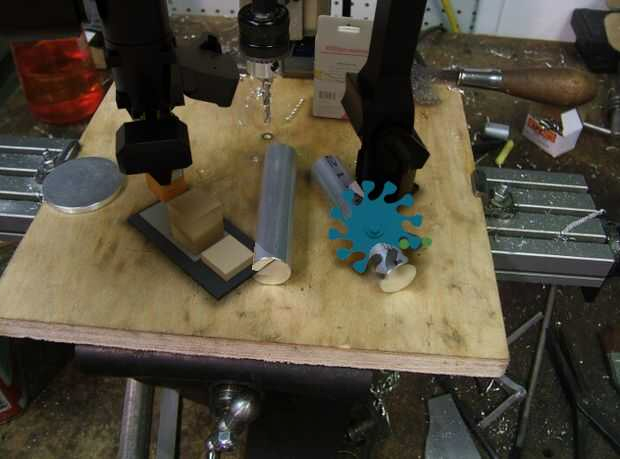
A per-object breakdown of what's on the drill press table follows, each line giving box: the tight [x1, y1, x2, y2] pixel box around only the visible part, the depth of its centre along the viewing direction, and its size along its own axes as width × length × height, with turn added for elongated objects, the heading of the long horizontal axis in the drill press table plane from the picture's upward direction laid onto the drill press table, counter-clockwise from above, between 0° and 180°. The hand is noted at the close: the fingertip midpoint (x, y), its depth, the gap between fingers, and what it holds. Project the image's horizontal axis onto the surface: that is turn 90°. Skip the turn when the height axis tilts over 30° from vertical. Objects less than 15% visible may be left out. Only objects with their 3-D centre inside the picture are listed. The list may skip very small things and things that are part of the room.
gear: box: [327, 181, 433, 274], centre depth 61 cm, size 11×6×10 cm
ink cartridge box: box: [312, 14, 374, 120], centre depth 76 cm, size 9×5×15 cm, turn 83°
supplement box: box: [143, 110, 188, 203], centre depth 58 cm, size 3×4×10 cm
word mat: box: [126, 189, 259, 301], centre depth 61 cm, size 16×8×2 cm, turn 46°
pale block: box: [167, 185, 225, 255], centre depth 60 cm, size 4×4×5 cm
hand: (164, 170), depth 60 cm, fingers closed on supplement box, 4 cm apart
